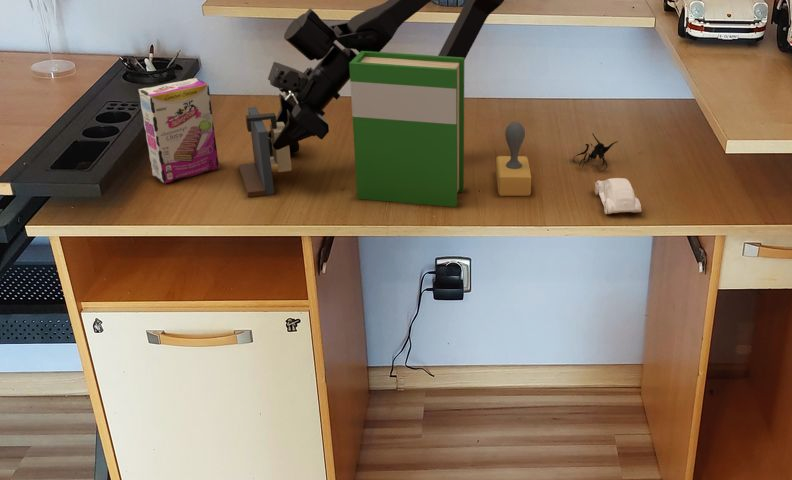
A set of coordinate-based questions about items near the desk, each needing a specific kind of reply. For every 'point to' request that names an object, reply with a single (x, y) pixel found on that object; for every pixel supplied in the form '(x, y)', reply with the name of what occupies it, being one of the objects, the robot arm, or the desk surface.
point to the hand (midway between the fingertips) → (272, 142)
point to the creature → (596, 152)
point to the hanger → (273, 140)
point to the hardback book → (408, 127)
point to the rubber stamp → (513, 165)
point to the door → (258, 162)
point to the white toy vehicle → (617, 196)
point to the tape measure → (293, 147)
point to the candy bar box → (179, 129)
